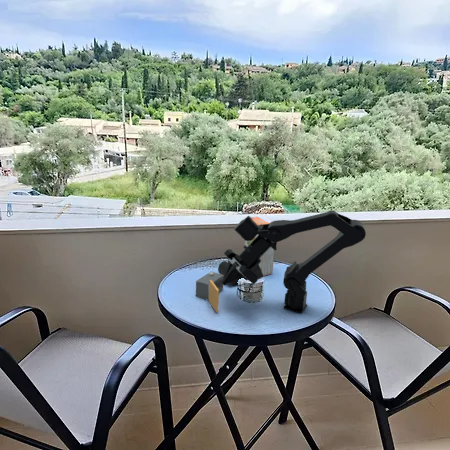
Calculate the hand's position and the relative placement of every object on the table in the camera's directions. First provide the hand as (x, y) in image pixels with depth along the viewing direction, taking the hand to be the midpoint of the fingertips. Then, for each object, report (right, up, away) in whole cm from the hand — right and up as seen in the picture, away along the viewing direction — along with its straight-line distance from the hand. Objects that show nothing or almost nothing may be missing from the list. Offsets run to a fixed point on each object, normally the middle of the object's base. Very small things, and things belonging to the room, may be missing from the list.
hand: (222, 284), depth 143 cm
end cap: (+3, -2, +23) cm, 24 cm away
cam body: (-5, -5, +13) cm, 14 cm away
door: (-3, -8, +3) cm, 9 cm away
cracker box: (+14, +1, +35) cm, 38 cm away
